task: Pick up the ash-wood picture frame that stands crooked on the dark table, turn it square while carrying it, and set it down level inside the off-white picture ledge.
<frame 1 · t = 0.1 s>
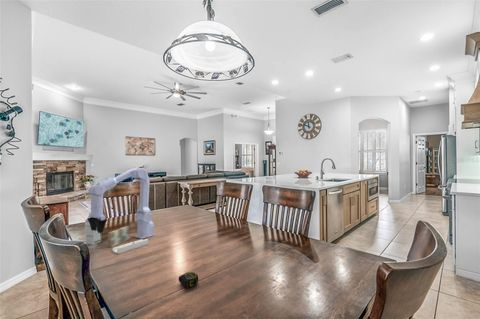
hand: (97, 231, 128), 10 cm above the table, fingers open, 7 cm apart
picture ledge: (130, 247, 131), on the table
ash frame: (119, 243, 139), on the table
syrup box: (93, 243, 139), on the table
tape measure: (188, 286, 92), on the table
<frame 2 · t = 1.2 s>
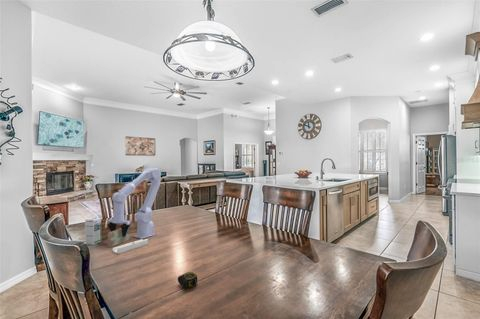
hand: (118, 235, 139), 4 cm above the table, fingers open, 7 cm apart
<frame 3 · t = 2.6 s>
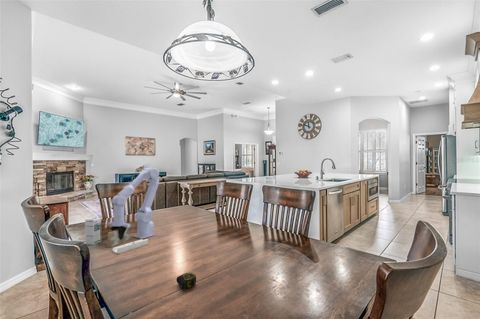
hand: (119, 238, 139), 2 cm above the table, fingers closed on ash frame, 3 cm apart
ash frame: (118, 242, 139), on the table, touching gripper
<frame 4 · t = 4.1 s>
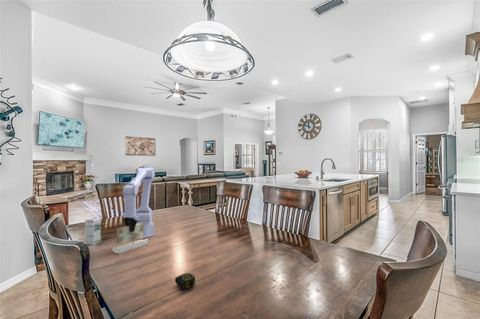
hand: (130, 231, 131), 9 cm above the table, fingers closed on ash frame, 2 cm apart
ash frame: (130, 240, 131), point 4 cm above the table, touching gripper
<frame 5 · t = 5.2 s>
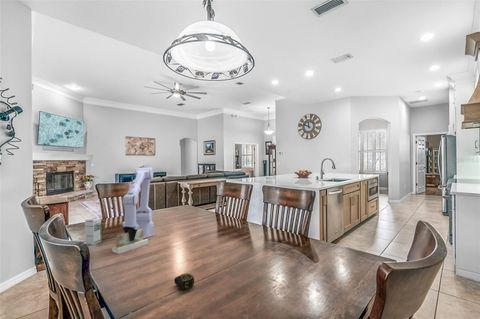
hand: (130, 240, 131), 4 cm above the table, fingers closed on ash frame, 2 cm apart
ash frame: (130, 246, 131), point 1 cm above the table, touching gripper, picture ledge
when the fingers open (4 cm above the table, at t = 5.6 s): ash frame stays where it is, resting on picture ledge.
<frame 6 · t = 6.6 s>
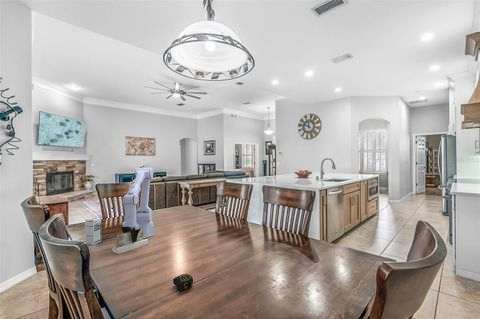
hand: (130, 240, 131), 4 cm above the table, fingers open, 7 cm apart
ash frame: (130, 246, 131), point 1 cm above the table, touching picture ledge
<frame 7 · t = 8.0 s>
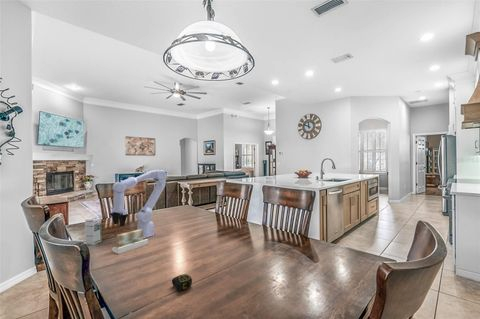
hand: (119, 225, 141), 10 cm above the table, fingers open, 7 cm apart
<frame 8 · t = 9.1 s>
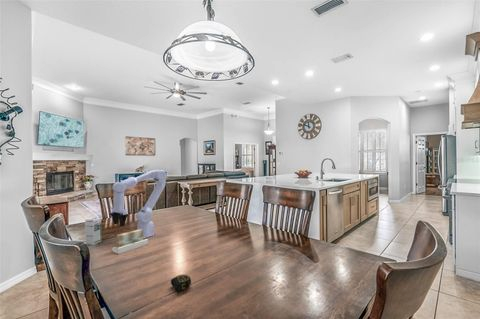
hand: (119, 225, 141), 10 cm above the table, fingers open, 7 cm apart
at the end: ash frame 0.1 cm off-centre on the picture ledge, point 0.6 cm above the picture ledge's base; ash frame tilted 0°; the gripper is holding nothing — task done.
